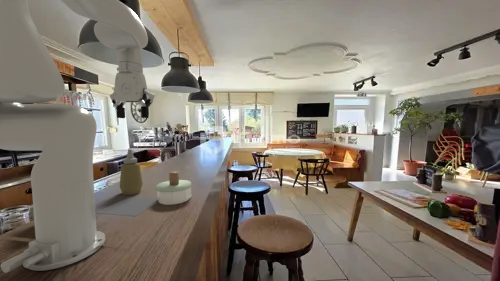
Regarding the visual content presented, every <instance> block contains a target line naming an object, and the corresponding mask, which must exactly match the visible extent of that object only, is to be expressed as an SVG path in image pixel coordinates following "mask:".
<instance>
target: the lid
mask: <svg viewBox="0 0 500 281" xmlns="http://www.w3.org/2000/svg"><path fill="white" fill-rule="evenodd" d="M179 173H180V172H179V171H170V172H169V173H168V177H169V178H168V179H169V180H166V181H162V182H159V183H158V184H156V185H155V190H156V192H157V191H159V192H178V191H183V190H186V189H188V188H190V187H191V188H192V181H191V180H187V179H179V177H180V176H179Z"/></svg>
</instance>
